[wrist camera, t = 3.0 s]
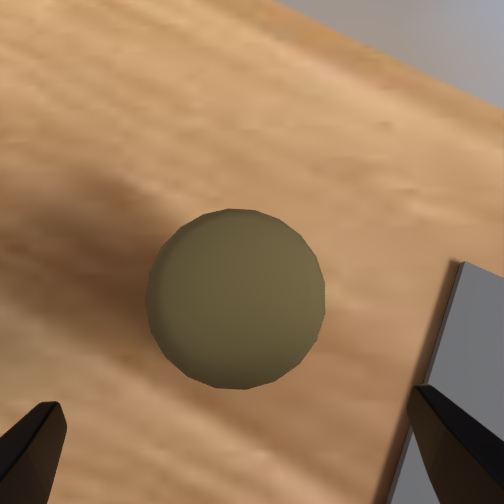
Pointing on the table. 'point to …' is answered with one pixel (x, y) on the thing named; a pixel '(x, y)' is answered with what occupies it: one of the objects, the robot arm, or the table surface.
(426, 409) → the robot arm
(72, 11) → the table surface
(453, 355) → the mat
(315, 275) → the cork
